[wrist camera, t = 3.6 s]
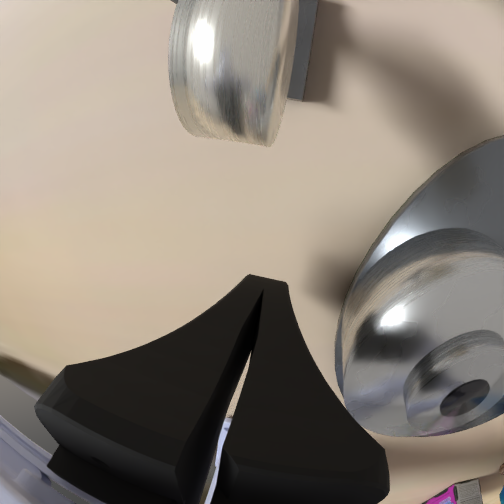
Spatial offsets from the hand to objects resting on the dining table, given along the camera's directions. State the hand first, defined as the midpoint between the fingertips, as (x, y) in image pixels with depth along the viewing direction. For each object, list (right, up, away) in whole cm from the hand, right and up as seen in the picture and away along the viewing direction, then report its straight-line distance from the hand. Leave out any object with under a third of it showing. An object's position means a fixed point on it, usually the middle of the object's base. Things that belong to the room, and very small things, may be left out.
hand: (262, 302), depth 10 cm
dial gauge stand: (0, +9, -2) cm, 9 cm away
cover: (+7, -1, 0) cm, 7 cm away
